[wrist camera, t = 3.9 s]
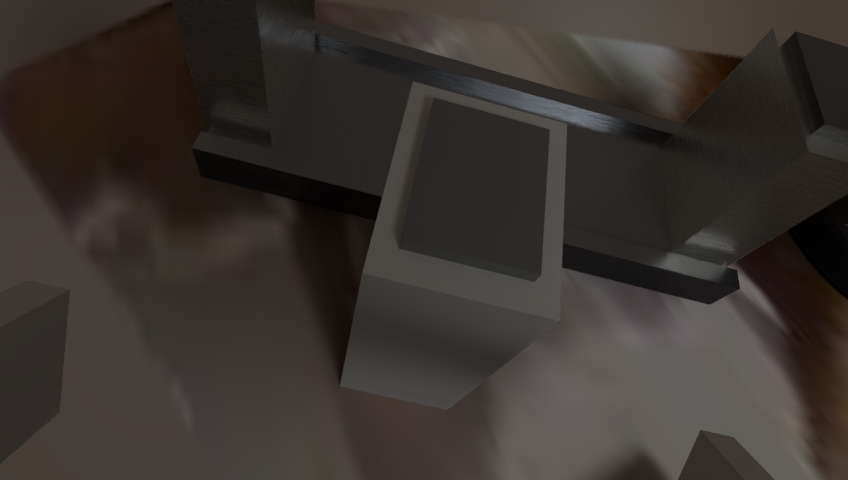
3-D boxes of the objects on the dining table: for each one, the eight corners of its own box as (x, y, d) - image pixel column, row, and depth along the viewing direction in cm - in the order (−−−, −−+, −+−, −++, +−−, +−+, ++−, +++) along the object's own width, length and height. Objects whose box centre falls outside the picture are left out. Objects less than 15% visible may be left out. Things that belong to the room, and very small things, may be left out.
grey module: (465, 280, 24) (573, 114, 14) (447, 409, 21) (567, 314, 11) (372, 257, 23) (415, 70, 13) (339, 386, 20) (363, 264, 10)
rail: (690, 155, 31) (840, 13, 22) (709, 304, 26) (913, 196, 17) (270, 39, 29) (251, -169, 20) (201, 176, 23) (134, -23, 15)
